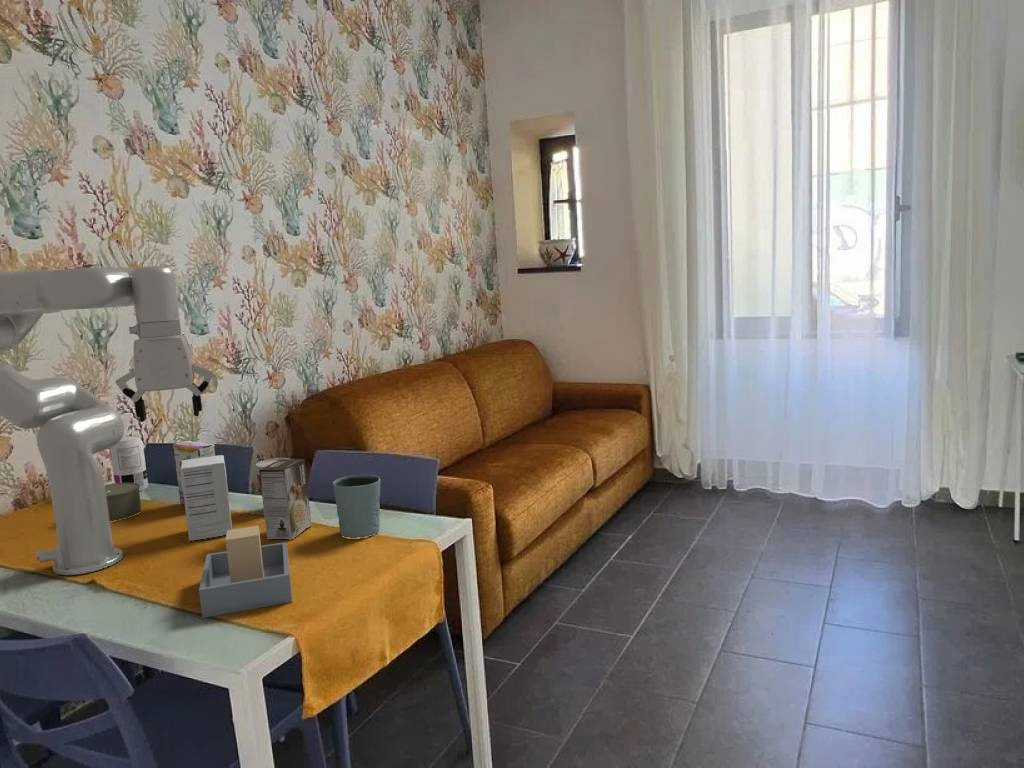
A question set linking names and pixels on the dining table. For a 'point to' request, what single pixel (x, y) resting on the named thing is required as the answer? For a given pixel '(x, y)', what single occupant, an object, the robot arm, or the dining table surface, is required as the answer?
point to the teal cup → (358, 505)
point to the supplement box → (206, 497)
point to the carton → (244, 554)
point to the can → (122, 500)
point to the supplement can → (129, 462)
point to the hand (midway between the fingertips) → (170, 417)
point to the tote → (245, 583)
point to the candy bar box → (190, 457)
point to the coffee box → (285, 498)
